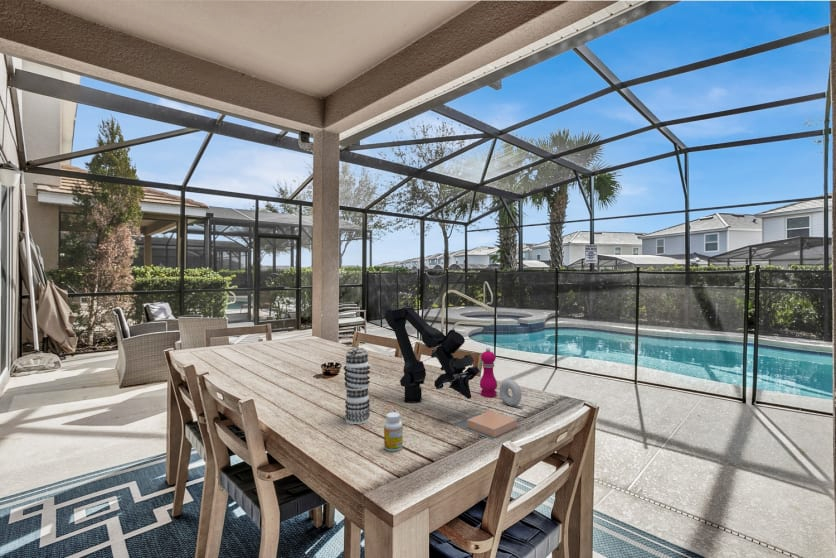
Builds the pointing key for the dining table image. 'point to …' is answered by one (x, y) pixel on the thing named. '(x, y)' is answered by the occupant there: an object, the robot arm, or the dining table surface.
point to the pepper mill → (488, 374)
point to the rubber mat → (464, 425)
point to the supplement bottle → (393, 432)
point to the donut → (515, 391)
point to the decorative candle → (357, 386)
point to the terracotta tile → (492, 423)
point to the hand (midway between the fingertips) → (470, 398)
